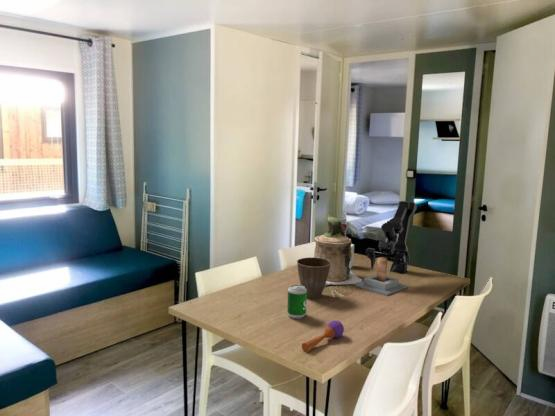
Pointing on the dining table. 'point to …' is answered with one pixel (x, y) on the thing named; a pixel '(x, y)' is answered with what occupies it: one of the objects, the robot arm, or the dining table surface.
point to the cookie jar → (336, 253)
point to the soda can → (297, 301)
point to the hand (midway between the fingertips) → (381, 270)
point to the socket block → (381, 285)
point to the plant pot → (313, 275)
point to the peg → (382, 269)
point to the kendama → (325, 335)
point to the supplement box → (352, 256)
